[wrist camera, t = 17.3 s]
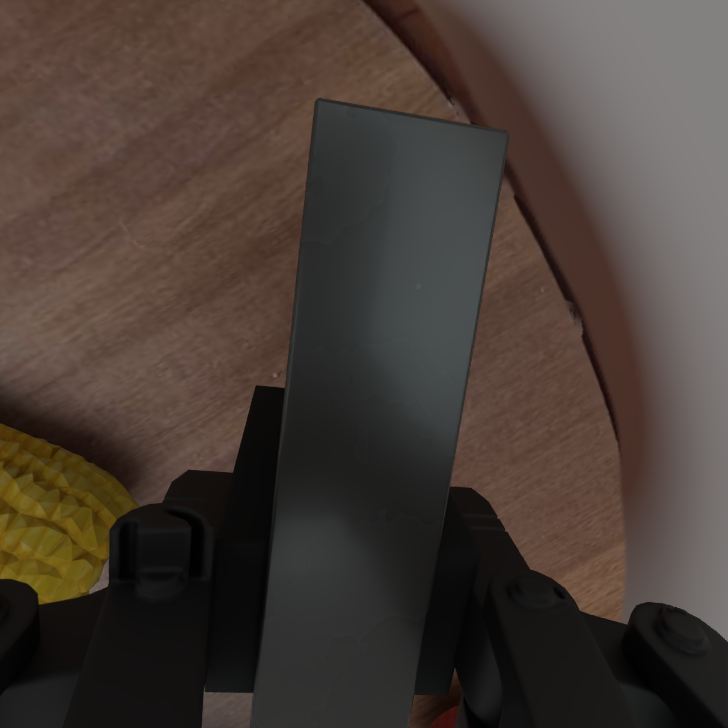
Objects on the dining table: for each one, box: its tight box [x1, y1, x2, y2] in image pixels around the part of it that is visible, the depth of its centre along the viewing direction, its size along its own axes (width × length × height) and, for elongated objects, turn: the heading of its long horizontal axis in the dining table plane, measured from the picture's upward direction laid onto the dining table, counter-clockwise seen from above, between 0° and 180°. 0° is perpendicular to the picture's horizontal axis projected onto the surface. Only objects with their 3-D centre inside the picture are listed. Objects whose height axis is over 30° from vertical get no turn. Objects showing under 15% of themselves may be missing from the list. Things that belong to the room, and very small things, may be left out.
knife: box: [250, 98, 510, 728], centre depth 12 cm, size 23×2×7 cm, turn 172°
